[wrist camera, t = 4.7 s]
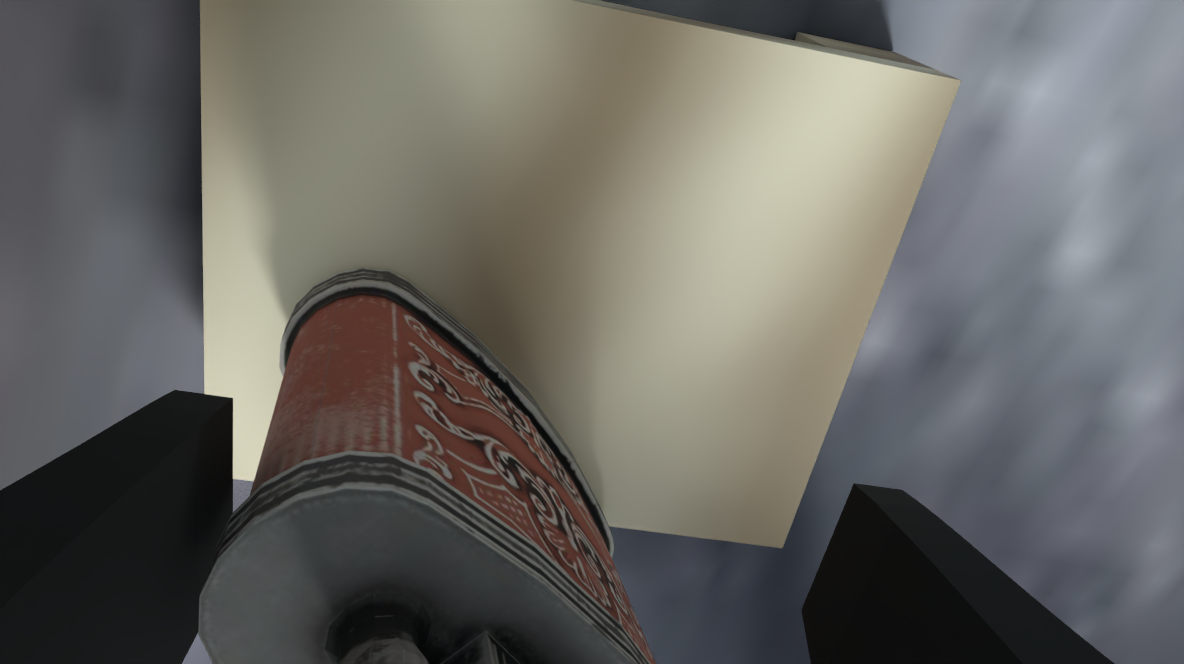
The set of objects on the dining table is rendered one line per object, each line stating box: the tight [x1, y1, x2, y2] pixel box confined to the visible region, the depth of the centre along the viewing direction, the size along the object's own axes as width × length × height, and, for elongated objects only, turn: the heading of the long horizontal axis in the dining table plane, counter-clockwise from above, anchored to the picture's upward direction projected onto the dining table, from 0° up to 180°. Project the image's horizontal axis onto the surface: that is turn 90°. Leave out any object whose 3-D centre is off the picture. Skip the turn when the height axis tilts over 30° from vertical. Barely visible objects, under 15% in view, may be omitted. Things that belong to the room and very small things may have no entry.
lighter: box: [198, 268, 656, 664], centre depth 11 cm, size 8×3×10 cm, turn 33°
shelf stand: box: [200, 0, 961, 548], centre depth 16 cm, size 12×10×3 cm
